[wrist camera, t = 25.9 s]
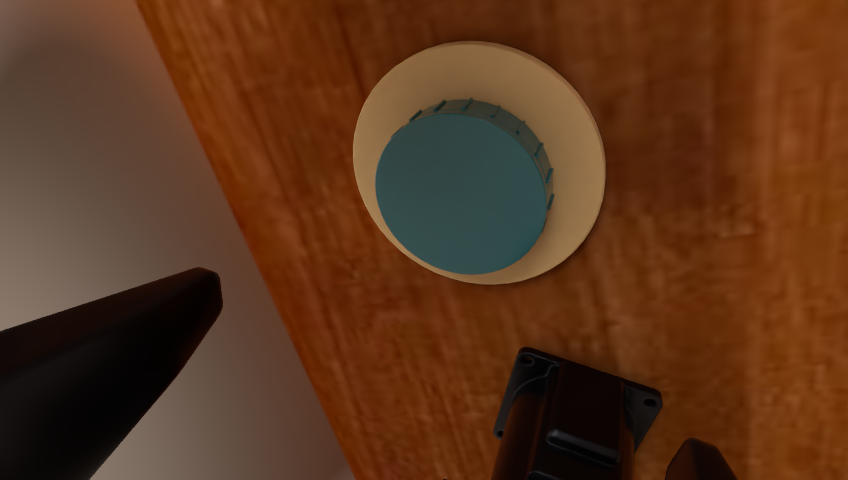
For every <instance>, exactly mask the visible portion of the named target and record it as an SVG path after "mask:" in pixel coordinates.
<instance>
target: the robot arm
mask: <svg viewBox="0 0 848 480" xmlns="http://www.w3.org/2000/svg"><path fill="white" fill-rule="evenodd" d="M222 307H223V300H222V292H221V284H220V277H219V276H218V274H217V273H215V272H213V271H210V270H207V269H205V268H201V267H197V268H193V269H190V270H187V271H184V272H181V273H178V274H175V275H172V276H169V277H165V278H162V279H159V280H156V281H153V282H150V283H147V284H144V285H141V286H138V287H135V288H132V289H129V290H126V291H122V292H119V293H116V294H113V295H110V296H107V297H104V298H101V299H98V300H95V301H92V302H89V303H86V304H82V305H79V306H76V307H73V308H70V309H67V310H64V311H61V312H58V313H55V314H52V315H49V316H46V317H43V318H40V319H37V320H33V321H30V322H27V323H24V324H21V325H18V326H15V327H12V328H9V329H6V330H3V331H0V480H90V478H91V477H92V476H93V475H94V474H95V472H96V471H97V470H98V469H99V468H100V466H101V465H102V464H103V463H104V462H105V461H106V459H107V458H108V457H109V456H110V455H111V454H112V452H113V451H114V450H115V449H116V448H117V447H118V445H119V444H120V443H121V442H122V441H123V439H124V438H125V437H126V436H127V435H128V433H129V432H130V431H131V430H132V428H134V427H135V425H136V424H137V423H138V422H139V421H140V419H141V418H142V417H143V416H144V415H145V413H146V412H147V411H148V410H149V409H150V408H151V406H152V405H153V404H154V403H155V402H156V401H157V399H158V398H159V397H160V396H161V395H162V394H163V392H164V391H165V390H166V389H167V388H168V386H169V385H170V384H171V382H172V381H173V380H174V379H175V378H176V377H177V375H178V374H179V373H180V371H181V370H182V369H183V367H184V366H185V364H186V363H187V361H188V360H189V359H190V357H191V356H192V354H193V353H194V351H195V350H196V348H197V347H198V345H199V344H200V343H201V341H202V340H203V338H204V337H205V335H206V334H207V332H208V331H209V329H210V328H211V327H212V325H213V324H214V322H215V321H216V319H217V318H218V316H219V315H220V313H221V310H222ZM524 357H529V358H530V359H531V360H529V359H526V358H524ZM647 399H653V400H647ZM662 404H663V403H662V395H661V393H660V392H659V391H658V390H655V389H653V388H650V387H647V386H644V385H641V384H638V383H635V382H632V381H629V380H626V379H623V378H620V377H617V376H614V375H611V374H608V373H605V372H602V371H599V370H596V369H593V368H590V367H587V366H584V365H581V364H578V363H575V362H572V361H569V360H566V359H563V358H560V357H557V356H554V355H551V354H548V353H545V352H542V351H539V350H536V349H533V348H529V347H524V348H521V349H520V350H519V351H518V354H517V357H516V360H515V363H514V367H513V370H512V373H511V376H510V379H509V382H508V385H507V389H506V392H505V395H504V398H503V401H502V404H501V407H500V411H499V414H498V417H497V420H496V423H495V427H494V430H493V434H494V435H495V437H496V438H498V439H500V440H501V444H500V447H499V451H498V455H497V459H496V463H495V466H494V470H493V474H492V478H491V480H634V453H635V452H636V450H637V448H638V446H639V445H640V443H641V441H642V440H643V438H644V436H645V435H646V433H647V431H648V429H649V428H650V426H651V424H652V423H653V421H654V419H655V418H656V416H657V414H658V412H659V411H660V409H661V407H662ZM443 480H447V479H443ZM665 480H738V479H737V478H736V476H735V475H734V473H733V471H732V470H731V468H730V467H729V465H728V463H727V462H726V460H725V459H724V457H723V455H722V454H721V452H720V451H719V449H718V448H717V447H716V446H714V445H713V444H710V443H707V442H704V441H701V440H699V439H696V438H688V439H686V440H685V441H684V443H683V444H682V446H681V447H680V449H679V450H678V452H677V453H676V455H675V456H674V458H673V459H672V461H671V462H670V464H669V466H668V468H667V471H666V476H665Z"/></svg>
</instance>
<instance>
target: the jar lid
mask: <svg viewBox="0 0 848 480" xmlns="http://www.w3.org/2000/svg"><path fill="white" fill-rule="evenodd" d="M500 107H501V106H500V105H498V106H496V105H493V104H490V103H487V102H482V101H477V100H473V98H469V100H466V99H460V100H450V101H445V99H444V100H442V101H441V102H440V103H438V104H435V105H433V106H430V107H428V108H427V109H425V110H423V111H422V110H421V109H420V110H419V111H418V112H417V113H415V114H414V115H413V116H412V117H411V118H410V119H409V122H408V123H407V124H406V125H404V126H402V127H401V128H400V129H399V130H397V131H396V132H395V133H394V134H393V135H392V136H391V139H390V140H389V142H388V143H387V145H386V146H385V148H384V150H383V152H382V153H381V155H380V158H379V161H378V164H377V169H376V174H375V191H376V198H377V203H378V207H379V209H380V212H381V215H382V217H383V219H384V221H385V223H386V225H387V226H388V228H389V230H390V231H391V233H392V234H393V235H394V236H395V238H396V239H397V240H398V241H399V242H400V243H401V244H402V245H403V246H404V247H405V248H406V249H407V250H408V251H409V252H411V253H412V254H413V255H414V256H416V257H417V258H419V259H420V260H422V261H424V262H426V263H428V264H429V265H431V266H434V267H436V268H439V269H441V270H445V271H448V272H452V273H458V274H468V275H476V274H486V273H491V272H495V271H498V270H501V269H504V268H506V267H508V266H510V265H512V264H514V263H515V262H517V261H518V260H520V259H521V258H522V257H523V256H524V255H526V254H527V253H528V252H529V251H530V249H531V248H532V247H533V246H534V245H535V243H536V241H537V240H538V238H539V236H540V234H542V233H543V230H544V227H545V224H546V221H547V214H548V211H549V210H550V209H551V206H552V203H553V199H554V196H555V194H553V172H554V168H551V165H550V162H549V159H548V156H547V153H546V152H545V150H544V148H543V146H544V143H543V142H542V143H541V142H540V141H539V139H538V138H537V137H536V135H535V134H534V133H533V132H532V130H531V129H530V128H529V127H528V126H527V125H526V124H525V123H526V122H525V121H524V120H523V121H521V120H520V119H519V118H517V117H516V116H514V115H513V114H511V113H510V112H508V111H506V110H504V109H502V108H500Z"/></svg>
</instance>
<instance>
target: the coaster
mask: <svg viewBox="0 0 848 480" xmlns="http://www.w3.org/2000/svg"><path fill="white" fill-rule="evenodd" d="M469 98H473V100H477V101H482V102H487V103H490V104H493V105H496V106H498V105H500V106H501V107H500V108H502V109H504V110H506V111H508V112H510V113H511V114H513V115H514V116H516V117H517V118H519V119H520V120H521V121H523V120H524V121H525V122H526V123H525V124H526V125H527V126H528V127H529V128H530V129H531V130H532V132H533V133H534V134H535V135H536V137H537V138H538V139H539V141H540V142H541V143H542V142H543V143H544V146H543V148H544V150H545V152H546V153H547V156H548V159H549V162H550V165H551V168H554V172H553V194H555V196H554V199H553V203H552V206H551V209H550V210H549V211H548V214H547V221H546V224H545V227H544V230H543V233H542V234H540V236H539V238H538V240H537V241H536V243H535V245H534V246H533V247H532V248H531V249H530V251H529V252H528V253H527V254H526V255H524V256H523V257H522V258H521V259H520V260H518V261H517V262H515V263H514V264H512V265H510V266H508V267H506V268H504V269H501V270H498V271H495V272H491V273H486V274H476V275H468V274H458V273H452V272H448V271H445V270H441V269H439V268H436V267H434V266H431V265H429V264H428V263H426V262H424V261H422V260H420V259H419V258H417V257H416V256H414V255H413V254H412V253H411V252H409V251H408V250H407V249H406V248H405V247H404V246H403V245H402V244H401V243H400V242H399V241H398V240H397V239H396V238H395V236H394V235H393V234H392V233H391V231H390V230H389V228H388V226H387V225H386V223H385V221H384V219H383V217H382V215H381V212H380V209H379V207H378V203H377V198H376V191H375V174H376V169H377V164H378V161H379V158H380V155H381V153H382V152H383V150H384V148H385V146H386V145H387V143H388V142H389V140H390V139H391V136H392V135H393V134H394V133H395V132H396V131H397V130H399V129H400V128H401V127H402V126H404V125H406V124H407V123H408V122H409V119H410V118H411V117H412V116H413V115H414V114H415V113H417V112H418V111H419V110H420V109H421V110H422V111H423V110H425V109H427V108H428V107H430V106H433V105H435V104H438V103H440V102H441V101H442V100H444V99H445V101H450V100H460V99H466V100H469ZM353 164H354V170H355V177H356V181H357V184H358V188H359V191H360V194H361V196H362V199H363V201H364V204H365V206H366V208H367V210H368V211H369V213H370V215H371V217H372V218H373V220H374V221H375V223H376V224H377V226H378V227H379V229H380V230H381V231H382V232H383V233H384V235H385V236H386V237H387V238H388V239H389V240H390V241H391V242H392V243H393V244H394V245H395V246H396V247H397V248H398V249H399V250H400V251H401V252H403V253H404V254H405V255H407V256H408V257H409V258H410V259H412V260H414V261H415V262H417V263H418V264H420V265H422V266H423V267H425V268H427V269H429V270H431V271H433V272H435V273H437V274H440V275H443V276H446V277H448V278H451V279H455V280H459V281H463V282H468V283H475V284H491V285H495V284H508V283H513V282H518V281H523V280H526V279H529V278H532V277H535V276H538V275H540V274H542V273H544V272H546V271H548V270H550V269H552V268H553V267H555V266H557V265H558V264H560V263H561V262H563V261H564V260H565V259H566V258H567V257H569V256H570V255H571V254H572V253H573V252H574V251H575V250H576V249H577V248H578V247H579V246H580V244H581V243H582V242H583V241H584V240H585V238H586V237H587V235H588V233H589V232H590V230H591V229H592V227H593V225H594V223H595V221H596V218H597V216H598V214H599V211H600V207H601V204H602V200H603V196H604V188H605V180H606V159H605V153H604V147H603V142H602V139H601V136H600V133H599V130H598V127H597V124H596V122H595V120H594V118H593V116H592V114H591V112H590V110H589V108H588V107H587V105H586V104H585V102H584V101H583V99H582V98H581V96H580V95H579V94H578V92H577V91H576V90H575V89H574V88H573V87H572V86H571V85H570V84H569V83H568V81H567V80H566V79H565V78H564V77H562V76H561V75H560V74H559V73H557V72H556V71H555V70H554V69H553V68H551V67H550V66H549V65H547V64H545V63H544V62H542V61H540V60H539V59H537V58H535V57H534V56H532V55H529V54H527V53H525V52H523V51H520V50H518V49H516V48H512V47H508V46H505V45H501V44H498V43H491V42H483V41H458V42H451V43H444V44H441V45H437V46H434V47H431V48H427V49H425V50H423V51H421V52H419V53H417V54H414V55H412V56H411V57H409V58H407V59H406V60H404V61H403V62H401V63H400V64H398V65H397V66H395V67H394V68H393V69H392V70H391V71H389V72H388V73H387V74H386V75H385V76H384V77H383V78H382V79H381V80H380V81H379V83H378V84H377V85H376V86H375V87H374V89H373V90H372V91H371V93H370V95H369V96H368V98H367V100H366V102H365V103H364V105H363V108H362V110H361V113H360V115H359V118H358V121H357V125H356V129H355V134H354V143H353Z"/></svg>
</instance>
